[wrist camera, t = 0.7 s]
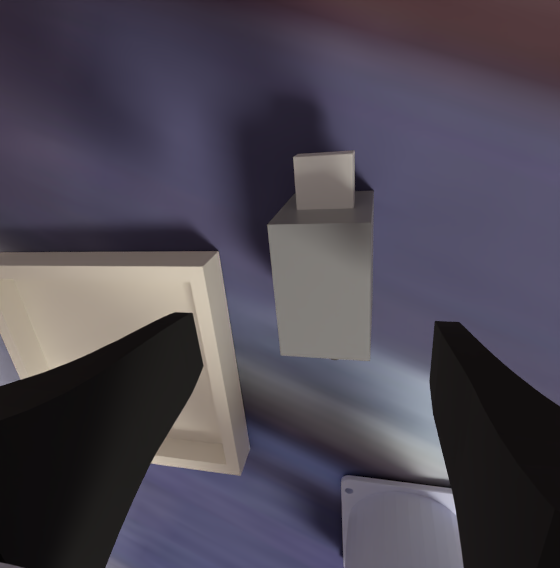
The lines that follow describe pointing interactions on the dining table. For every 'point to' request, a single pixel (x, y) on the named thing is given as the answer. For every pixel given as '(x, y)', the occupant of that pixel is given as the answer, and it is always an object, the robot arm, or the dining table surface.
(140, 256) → the tray
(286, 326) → the plug
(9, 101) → the dining table surface
